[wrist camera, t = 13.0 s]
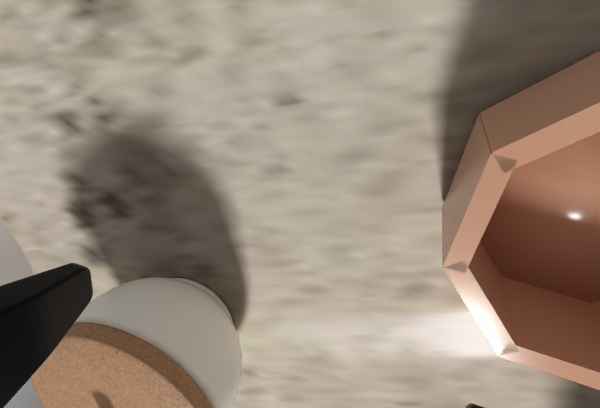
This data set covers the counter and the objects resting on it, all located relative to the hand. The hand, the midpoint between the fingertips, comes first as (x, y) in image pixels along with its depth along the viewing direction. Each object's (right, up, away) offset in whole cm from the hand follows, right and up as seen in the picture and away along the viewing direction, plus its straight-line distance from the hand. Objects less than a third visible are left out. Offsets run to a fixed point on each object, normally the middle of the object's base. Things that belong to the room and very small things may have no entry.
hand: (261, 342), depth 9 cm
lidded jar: (-6, -4, +19) cm, 20 cm away
